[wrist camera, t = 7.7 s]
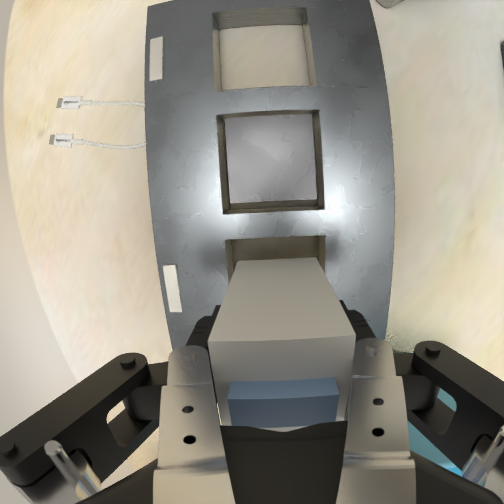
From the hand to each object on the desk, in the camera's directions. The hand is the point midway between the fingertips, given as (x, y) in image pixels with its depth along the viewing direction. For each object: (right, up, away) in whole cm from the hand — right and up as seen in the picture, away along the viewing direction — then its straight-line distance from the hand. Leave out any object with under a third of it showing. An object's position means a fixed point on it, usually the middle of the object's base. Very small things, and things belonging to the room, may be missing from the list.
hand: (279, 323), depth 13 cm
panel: (0, +9, +5) cm, 10 cm away
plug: (0, +1, +3) cm, 3 cm away
